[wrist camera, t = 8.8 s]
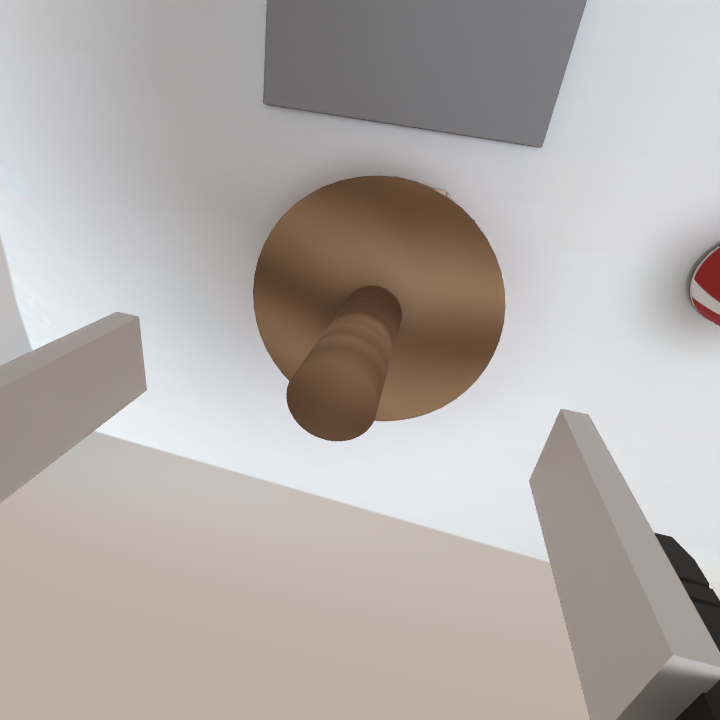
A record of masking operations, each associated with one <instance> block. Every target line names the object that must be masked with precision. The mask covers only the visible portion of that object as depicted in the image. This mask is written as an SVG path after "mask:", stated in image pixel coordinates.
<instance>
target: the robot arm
mask: <svg viewBox="0 0 720 720" xmlns="http://www.w3.org/2000/svg"><path fill="white" fill-rule="evenodd" d="M146 390H147V387H146V378H145V369H144V360H143V350H142V341H141V332H140V323H139V317H138V316H134V315H129V314H125V313H120V312H115V313H113V314H111V315H109V316H107V317H105V318H102V319H100V320H98V321H96V322H94V323H92V324H89V325H87V326H85V327H83V328H81V329H79V330H77V331H74V332H72V333H70V334H68V335H66V336H64V337H62V338H59V339H57V340H55V341H53V342H51V343H49V344H46V345H44V346H42V347H40V348H38V349H36V350H34V351H31V352H29V353H27V354H25V355H23V356H21V357H19V358H16V359H14V360H12V361H10V362H8V363H6V364H3V365H1V366H0V503H1V502H2V501H4V500H5V499H6V498H7V497H9V496H10V495H11V494H13V493H14V492H15V491H17V490H18V489H19V488H20V487H22V486H23V485H24V484H25V483H27V482H28V481H30V480H31V479H32V478H33V477H35V476H36V475H37V474H39V473H40V472H41V471H42V470H44V469H45V468H46V467H48V466H49V465H50V464H51V463H53V462H54V461H55V460H57V459H58V458H59V457H60V456H62V455H63V454H64V453H66V452H67V451H68V450H70V449H71V448H72V447H74V446H75V445H76V444H77V443H79V442H80V441H81V440H83V439H84V438H85V437H87V436H88V435H89V434H90V433H92V432H93V431H94V430H96V429H97V428H98V427H100V426H101V425H102V424H103V423H105V422H106V421H107V420H109V419H110V418H111V417H112V416H114V415H115V414H116V413H118V412H119V411H120V410H122V409H123V408H124V407H125V406H127V405H128V404H129V403H131V402H132V401H133V400H134V399H136V398H137V397H138V396H140V395H141V394H142V393H144V392H145V391H146ZM529 482H530V486H531V490H532V494H533V497H534V501H535V505H536V509H537V513H538V517H539V521H540V525H541V529H542V533H543V537H544V541H545V545H546V548H547V552H548V556H549V560H550V564H551V568H552V572H553V576H554V579H555V584H556V588H557V592H558V595H559V599H560V603H561V607H562V611H563V614H564V619H565V623H566V627H567V631H568V635H569V638H570V642H571V646H572V650H573V654H574V658H575V662H576V666H577V670H578V674H579V678H580V681H581V686H582V689H583V693H584V697H585V701H586V705H587V709H588V713H589V717H590V720H720V600H719V599H718V597H717V596H716V594H715V592H714V591H713V589H710V588H709V583H708V581H707V579H706V578H705V576H704V574H703V573H702V571H701V570H700V568H699V566H698V565H697V563H696V561H695V560H694V559H693V558H692V557H691V556H690V555H689V554H688V553H687V552H686V551H685V550H684V549H683V548H682V547H681V546H680V545H679V544H678V543H677V542H676V541H675V540H674V539H673V538H672V537H670V536H666V535H661V534H657V533H654V532H653V530H652V529H651V527H650V525H649V523H648V521H647V520H646V518H645V516H644V514H643V512H642V510H641V509H640V507H639V505H638V503H637V501H636V500H635V498H634V496H633V494H632V492H631V491H630V489H629V487H628V485H627V483H626V482H625V480H624V478H623V476H622V474H621V472H620V471H619V469H618V467H617V465H616V463H615V462H614V460H613V458H612V456H611V454H610V453H609V451H608V449H607V447H606V445H605V443H604V442H603V440H602V438H601V436H600V434H599V433H598V431H597V429H596V427H595V425H594V424H593V422H592V420H591V418H590V416H589V415H588V414H583V413H578V412H574V411H569V410H565V409H561V410H560V412H559V414H558V417H557V419H556V421H555V423H554V426H553V428H552V430H551V433H550V435H549V437H548V439H547V442H546V444H545V446H544V448H543V451H542V453H541V455H540V457H539V460H538V462H537V464H536V466H535V469H534V471H533V473H532V475H531V478H530V480H529Z"/></svg>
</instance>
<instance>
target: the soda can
mask: <svg viewBox="0 0 720 720" xmlns="http://www.w3.org/2000/svg"><path fill="white" fill-rule="evenodd" d="M690 295H691V300H692V303H693V305H694V307H695V308H696V310H697V311H698V312H699V313H700V314H701V315H702V316H704V317H705V318H707V319H708V320H710V321H712V322H714V323H715V324H717V325H719V326H720V246H718V247H717V248H715V249H714V250H713V251H711V252H710V253H709V254H708V255H707V256H706V257H705V258H704V259H703V260H702V261H701V262H700V264H699V265H698V266H697V268H696V270H695V272H694V274H693V277H692V280H691V286H690Z"/></svg>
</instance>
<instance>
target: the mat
mask: <svg viewBox="0 0 720 720" xmlns="http://www.w3.org/2000/svg"><path fill="white" fill-rule="evenodd" d="M586 1H587V0H267V15H266V42H265V69H264V96H263V103H264V104H267V105H273V106H280V107H286V108H292V109H299V110H305V111H312V112H318V113H324V114H331V115H337V116H343V117H350V118H356V119H363V120H369V121H375V122H382V123H388V124H394V125H401V126H407V127H414V128H420V129H426V130H433V131H439V132H445V133H452V134H458V135H465V136H471V137H477V138H484V139H490V140H497V141H503V142H509V143H516V144H522V145H528V146H535V147H542V146H543V142H544V139H545V136H546V132H547V129H548V126H549V123H550V119H551V116H552V113H553V109H554V106H555V103H556V100H557V96H558V93H559V90H560V87H561V83H562V80H563V77H564V73H565V70H566V67H567V64H568V60H569V57H570V54H571V51H572V47H573V44H574V41H575V37H576V34H577V31H578V28H579V24H580V21H581V18H582V15H583V11H584V8H585V5H586Z"/></svg>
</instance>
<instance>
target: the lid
mask: <svg viewBox="0 0 720 720" xmlns="http://www.w3.org/2000/svg"><path fill="white" fill-rule="evenodd" d="M253 299H254V310H255V316H256V322H257V325H258V329H259V332H260V335H261V338H262V340H263V342H264V345H265V347H266V349H267V351H268V353H269V354H270V356H271V358H272V360H273V361H274V363H275V364H276V365H277V367H278V368H279V369H280V371H281V372H282V373H283V375H284V376H285V377H286V378H287V379H288V380H289V384H288V387H287V404H288V407H289V410H290V412H291V414H292V416H293V417H294V419H295V420H296V422H297V423H298V424H299V425H300V426H301V427H302V428H303V429H305V430H306V431H307V432H309V433H310V434H312V435H314V436H316V437H319V438H321V439H325V440H330V441H346V440H351V439H354V438H356V437H358V436H360V435H362V434H363V433H365V432H366V431H367V430H368V429H369V428H370V427H371V425H372V424H373V422H374V421H396V420H404V419H410V418H415V417H418V416H421V415H425V414H428V413H430V412H432V411H435V410H437V409H439V408H442V407H443V406H445V405H447V404H448V403H450V402H452V401H453V400H455V399H456V398H457V397H459V396H460V395H461V394H463V393H464V392H465V391H466V390H467V389H468V388H469V387H470V386H471V385H472V384H473V383H474V382H475V381H476V380H477V379H478V378H479V376H480V375H481V374H482V372H483V371H484V370H485V369H486V367H487V365H488V364H489V362H490V360H491V358H492V356H493V355H494V353H495V350H496V347H497V345H498V342H499V340H500V336H501V332H502V328H503V324H504V315H505V290H504V284H503V279H502V274H501V270H500V267H499V265H498V262H497V259H496V256H495V254H494V252H493V250H492V248H491V246H490V244H489V242H488V240H487V238H486V237H485V235H484V234H483V232H482V231H481V230H480V228H479V227H478V225H477V224H476V223H475V221H474V220H473V219H472V218H471V217H470V216H469V215H468V214H467V213H466V212H465V211H464V210H463V209H462V208H461V207H460V206H459V205H457V204H456V203H455V202H453V201H452V200H451V199H450V198H448V197H447V196H445V195H443V194H442V193H440V192H438V191H436V190H435V189H433V188H431V187H428V186H426V185H423V184H421V183H418V182H416V181H411V180H407V179H403V178H399V177H389V176H365V177H356V178H352V179H347V180H342V181H338V182H335V183H333V184H330V185H327V186H324V187H322V188H320V189H318V190H316V191H315V192H313V193H311V194H309V195H307V196H306V197H304V198H303V199H302V200H300V201H299V202H298V203H296V204H295V205H294V206H293V207H292V208H291V209H290V210H289V211H288V212H287V213H286V214H285V215H284V216H283V217H282V218H281V219H280V220H279V222H278V223H277V224H276V226H275V227H274V228H273V230H272V231H271V233H270V235H269V236H268V238H267V240H266V242H265V244H264V246H263V248H262V251H261V254H260V256H259V259H258V263H257V267H256V271H255V277H254V287H253Z"/></svg>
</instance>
